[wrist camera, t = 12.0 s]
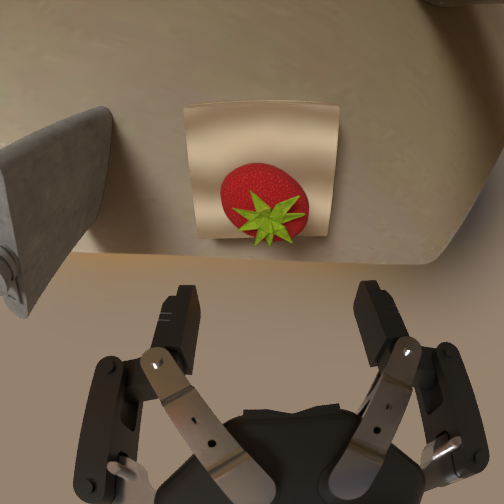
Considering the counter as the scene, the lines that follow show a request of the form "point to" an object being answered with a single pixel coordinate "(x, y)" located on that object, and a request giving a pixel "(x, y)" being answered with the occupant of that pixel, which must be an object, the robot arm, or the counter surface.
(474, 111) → the counter surface
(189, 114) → the plinth
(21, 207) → the hip flask
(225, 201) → the strawberry
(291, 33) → the counter surface
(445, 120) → the counter surface
